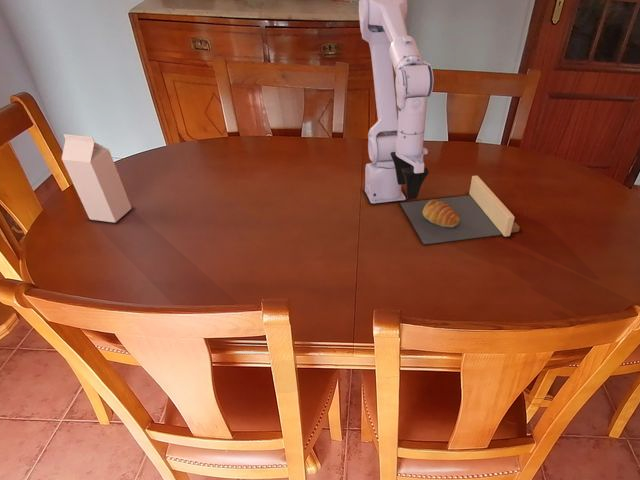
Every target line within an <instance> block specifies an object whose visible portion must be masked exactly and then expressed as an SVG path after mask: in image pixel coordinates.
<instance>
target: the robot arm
mask: <svg viewBox="0 0 640 480" xmlns="http://www.w3.org/2000/svg"><path fill="white" fill-rule="evenodd" d="M407 15H408V0H358V18H359V28H360V33H361V39H362V40H364V41H365V42H367V43H368V46H369V51H370V57H371V67H372V76H373V86H374V87H373V88H374V95H375V105H376V107H375V108H376V114H377V115H376V117H377V121H376V122H375V124H373V125H372V126H371V127H370V128H369V130H368V134H367V138H368V141H367V153H368V157H369V160H370V162H369V163H366V164H365V168H364V171H365V172H364V184H365V185H364V192H365V194H366V196H367V198H368V200H369V202H370V204H381V203H390V202H399V201H400V202H401V201H406V200H417V199H418V196H419V193H420V190H421V187H422V185H423V183H424V181H425V179H426V178H427V176H428V175H429V173H430V171H429V169H428V168H427V167H425V162H424V155H428V153H429V150H428V149H427V148H426V147H424V141H425V130H426V118H427V117H426V115H427V107H428V105H427V104H428V98H429V97H430V96H431V95H432V93H433V90H434V81H435V80H434V79H435V78H434V72H433V67H432V65H431V64H430V62H427V61H426V60H423V59H422V55H421V52H420V51H419V47H418V45H417V42H416V39H415V38H414V37H412V36H411V35H408V31H407V27H406V19H407ZM394 73H395V78H394ZM397 107H398V109H397ZM397 110H398V111H397ZM397 112H398V113H397ZM403 185H405V191H406V196H405V194H404V193H403V191H402V188H403V187H402V186H403Z"/></svg>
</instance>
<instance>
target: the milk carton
mask: <svg viewBox="0 0 640 480" xmlns="http://www.w3.org/2000/svg"><path fill="white" fill-rule="evenodd" d="M63 137H64V145H63V150H62V153H61V161H62V162H63V165H64V167H65V169H66V171H67V173H68V175H69V178H70V180H71V183H72V184H73V187H74V188H75V191H76V193H77V196H78V197H79V199H80V202H81V204H82V205H83V208H84V210H85V212H86V214H87V217H88V219H89V220H91V221H100V222H107V223H117V222H118V221H120V219H122V218H123V217H124V216H125V215H126V214H128V212H129V211H131V210H132V205H131V203H130V200H129V197H128V195H127V192H126V190H125V187H124V185H123V182H122V180H121V177H120V174H119V172H118V169H117V167H116V164H115V162H114V158H113V157H112V154H111V151H110V149H109V148H107V147H105V146H103V145H102V144H99V143H97V142H95V140H94V137H93V136H87V135H86V136H85V135H76V134H66V133H64V134H63Z"/></svg>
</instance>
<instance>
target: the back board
mask: <svg viewBox="0 0 640 480" xmlns="http://www.w3.org/2000/svg"><path fill="white" fill-rule="evenodd" d="M468 194H469V195H470V196H471V198H472V199H473V200H474V201H475V202H476V204H477V205H478V206H479V207H480V209H481V210H482V211H483V212H484V213H485V215H486V216H487V217H488V218H489V220H490V221H491V222H492V223H493V224H494V226H495V227H496V228H497V229H498V231H499V232H500V233H501V234H502V236H503V237H505V238H506V237H511V234H512V233H519V232H520V228H521V227H520V225H519V224H518V223H517V222H515V218H516V217H515V216H514V213H512V212H511V211H510V210H509V209H508V208H507V206H506V205H505V204H504V203H503V202H502V201H501V200H500V199H499V197H497V196H496V194H495V193H494V192H493V191H492V189H490V188H489V187H488V186H487V184H486V183H485V182H484V181H483V179H481V178H480V176H479V175H472V176H471V181H470V187H469V193H468Z"/></svg>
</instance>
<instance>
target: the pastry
mask: <svg viewBox="0 0 640 480" xmlns="http://www.w3.org/2000/svg"><path fill="white" fill-rule="evenodd" d="M429 200H430V201H429V202H428V203H427V204H426V205H425V207H424V209H423V211H422V214H423V216H424V217H425V219H427V220H429V221H430V222H432V223H435V224H437V225H440V226H443V227H454V226H455V225H457V224H458V222H459V221H460V217H459V216H458V215H457V212H455V211H454V209H453V208H451V207H450V206H449V205H448V204H445V203H444V202H443V201H441V202H438V201H437V200H432V199H429Z"/></svg>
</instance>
